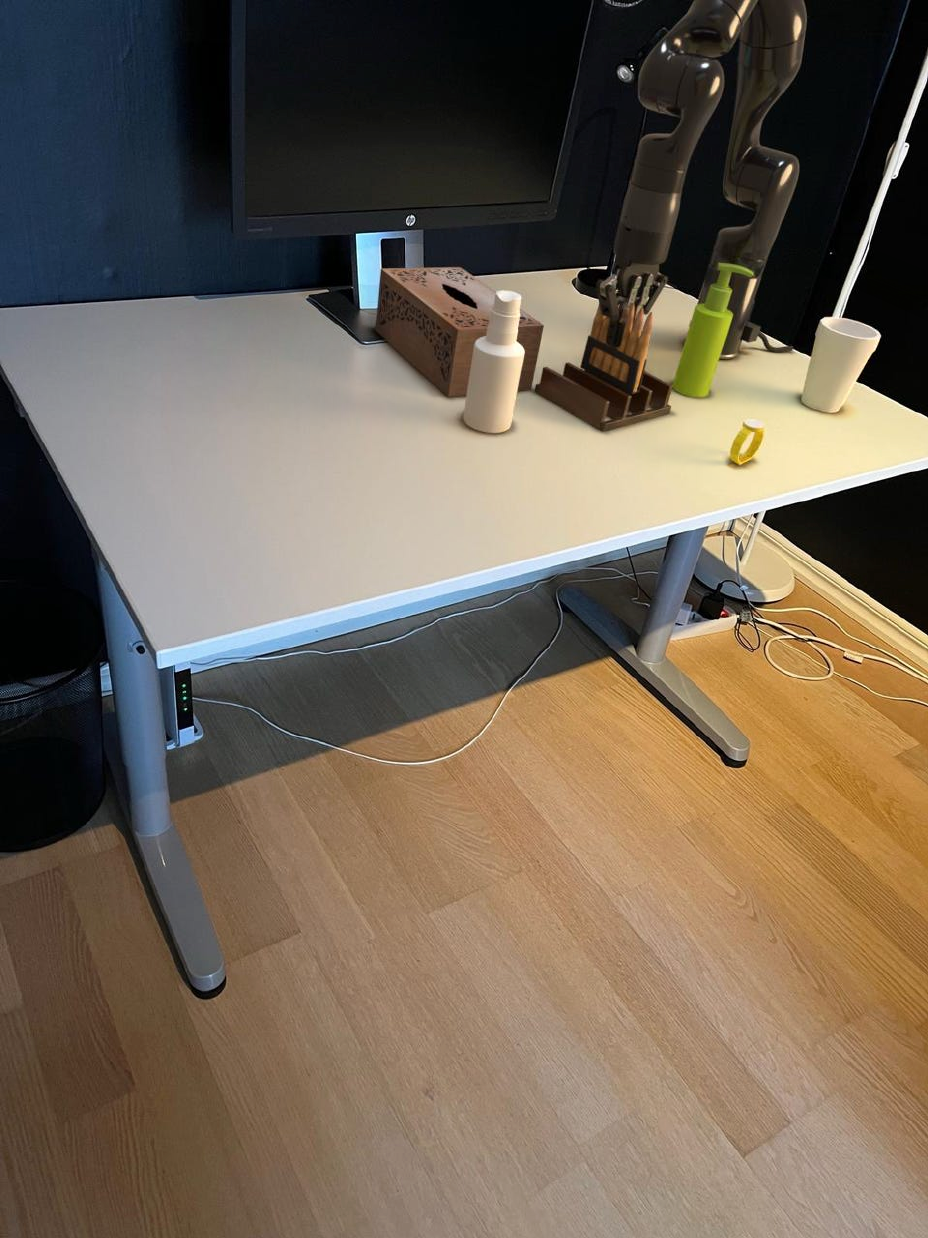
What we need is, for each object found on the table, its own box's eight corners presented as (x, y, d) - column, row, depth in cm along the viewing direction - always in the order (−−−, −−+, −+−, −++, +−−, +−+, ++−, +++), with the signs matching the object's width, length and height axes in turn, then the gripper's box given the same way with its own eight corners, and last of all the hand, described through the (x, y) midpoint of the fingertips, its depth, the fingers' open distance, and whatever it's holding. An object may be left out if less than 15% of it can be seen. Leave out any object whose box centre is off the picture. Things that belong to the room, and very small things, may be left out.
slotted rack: (600, 376, 151) (606, 351, 148) (669, 413, 143) (677, 387, 140) (534, 391, 142) (539, 365, 139) (603, 431, 134) (610, 404, 131)
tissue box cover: (531, 389, 142) (543, 325, 136) (448, 396, 136) (458, 329, 130) (452, 326, 159) (460, 266, 153) (375, 330, 153) (380, 268, 147)
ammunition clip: (639, 392, 138) (660, 313, 131) (631, 395, 137) (652, 314, 130) (587, 365, 144) (605, 287, 136) (579, 367, 143) (597, 288, 135)
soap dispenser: (714, 401, 149) (755, 275, 137) (672, 392, 150) (709, 265, 138) (714, 388, 154) (753, 264, 142) (672, 379, 154) (708, 255, 142)
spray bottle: (516, 420, 133) (540, 294, 122) (502, 438, 127) (526, 308, 116) (471, 407, 134) (491, 281, 123) (455, 425, 128) (475, 295, 118)
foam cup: (802, 387, 160) (831, 312, 152) (855, 406, 156) (887, 330, 149) (784, 401, 153) (813, 324, 146) (838, 421, 150) (871, 343, 142)
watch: (744, 452, 135) (757, 414, 131) (760, 460, 134) (774, 422, 130) (721, 461, 131) (734, 423, 128) (737, 470, 130) (751, 431, 126)
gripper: (658, 210, 132) (629, 329, 143) (593, 216, 125) (567, 341, 135) (699, 226, 128) (666, 347, 139) (635, 233, 120) (604, 361, 131)
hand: (617, 344), depth 137 cm, fingers closed on ammunition clip, 1 cm apart
